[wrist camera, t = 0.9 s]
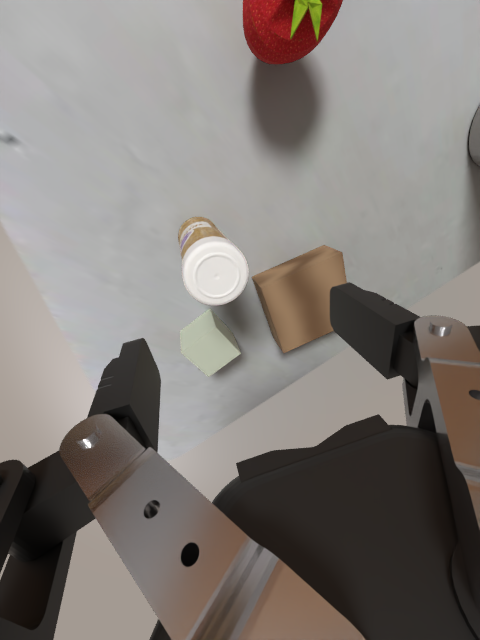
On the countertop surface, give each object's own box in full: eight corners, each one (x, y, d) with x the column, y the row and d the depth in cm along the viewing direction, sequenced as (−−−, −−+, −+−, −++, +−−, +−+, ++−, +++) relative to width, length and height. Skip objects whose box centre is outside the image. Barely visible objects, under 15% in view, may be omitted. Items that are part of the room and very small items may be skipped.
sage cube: (209, 308, 33) (215, 326, 29) (232, 332, 36) (240, 353, 31) (179, 331, 34) (181, 353, 29) (204, 353, 36) (208, 377, 32)
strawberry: (317, 48, 24) (402, -28, 15) (250, 104, 24) (294, 61, 16) (288, -41, 21) (372, -201, 12) (212, 25, 21) (240, -80, 13)
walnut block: (324, 244, 33) (342, 252, 29) (335, 309, 38) (352, 322, 34) (251, 276, 32) (261, 288, 29) (273, 337, 37) (283, 353, 34)
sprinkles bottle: (183, 210, 27) (191, 232, 16) (224, 223, 29) (259, 252, 17) (173, 253, 29) (175, 300, 17) (213, 263, 30) (238, 313, 19)
